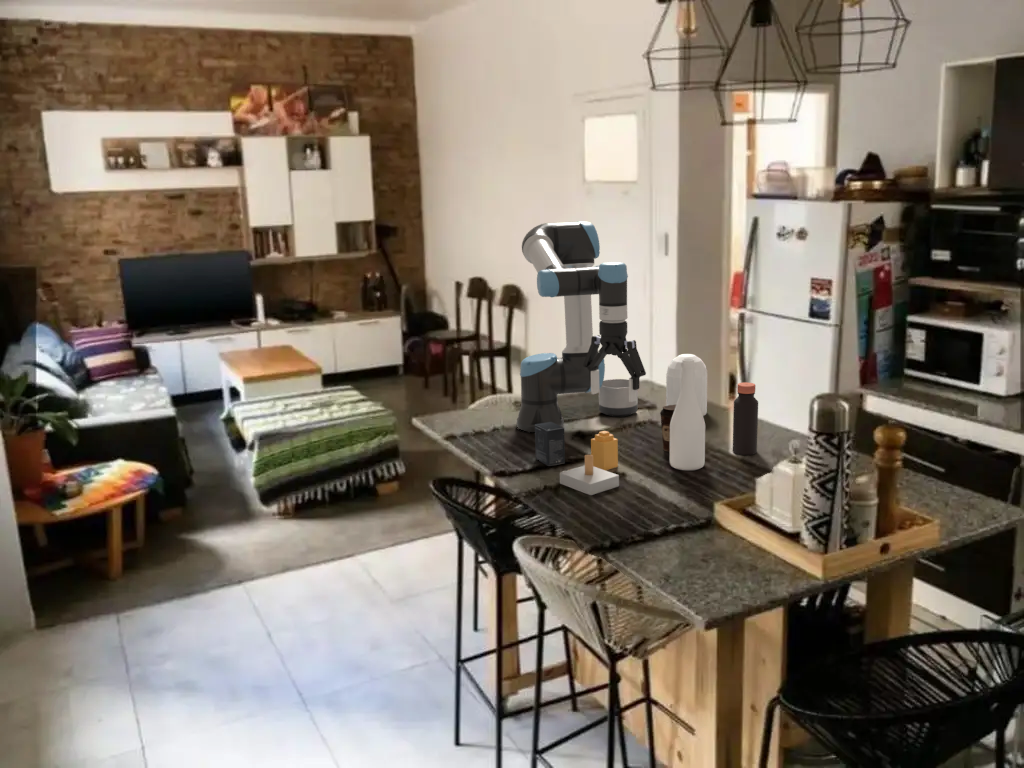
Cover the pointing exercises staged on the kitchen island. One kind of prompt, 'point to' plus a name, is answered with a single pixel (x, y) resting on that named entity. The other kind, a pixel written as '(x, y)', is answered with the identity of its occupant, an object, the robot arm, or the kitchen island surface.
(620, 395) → the planter
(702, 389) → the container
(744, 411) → the vinegar
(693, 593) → the kitchen island surface
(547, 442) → the box
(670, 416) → the coffee cup
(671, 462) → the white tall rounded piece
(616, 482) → the base with peg
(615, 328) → the robot arm
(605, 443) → the orange stepped block
